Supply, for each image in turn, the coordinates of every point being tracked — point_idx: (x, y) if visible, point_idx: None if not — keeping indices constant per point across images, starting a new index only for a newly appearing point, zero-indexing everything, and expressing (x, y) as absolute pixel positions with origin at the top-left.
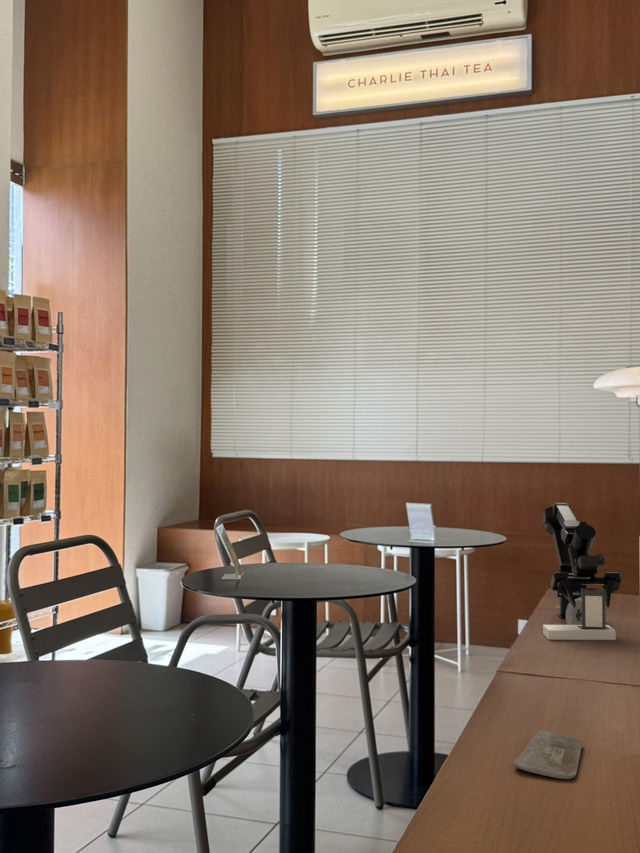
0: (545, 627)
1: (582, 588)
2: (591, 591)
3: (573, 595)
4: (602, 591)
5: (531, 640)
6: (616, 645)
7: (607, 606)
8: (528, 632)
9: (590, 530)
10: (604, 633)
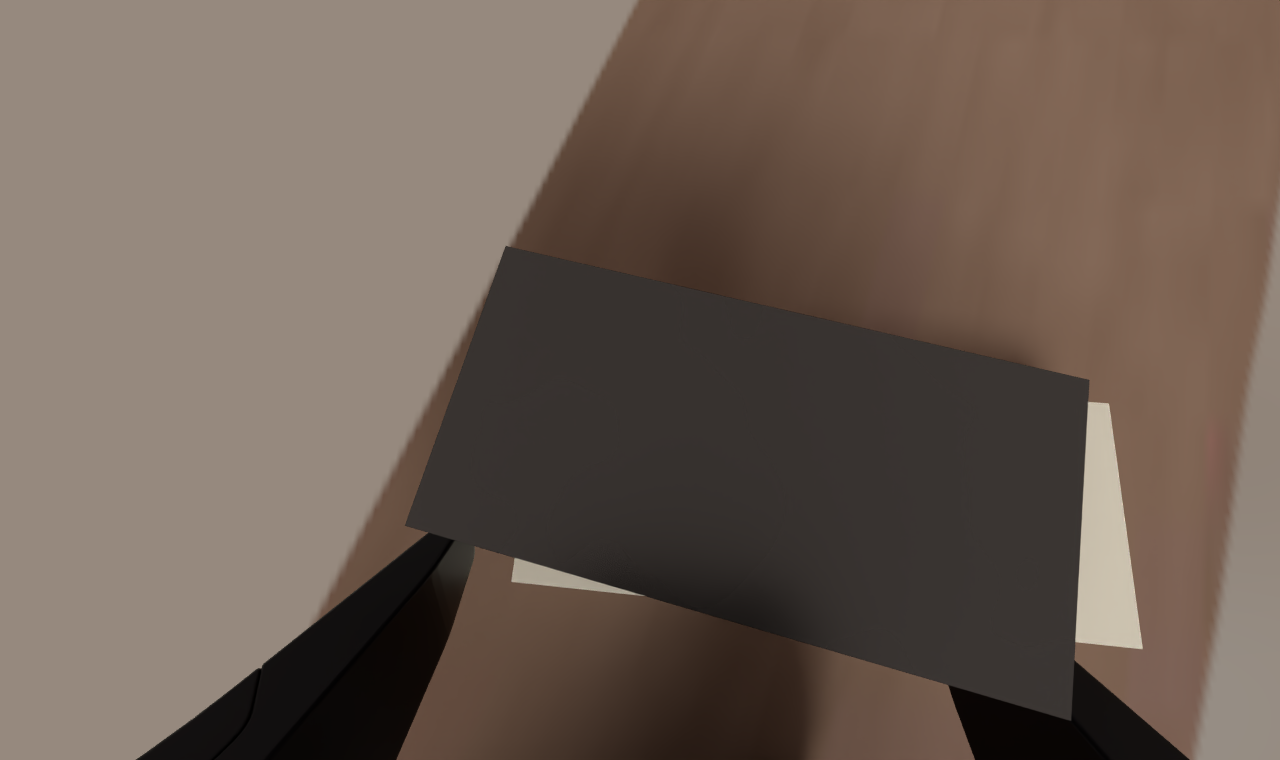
0: (1123, 527)
1: (1036, 656)
2: (824, 330)
3: (1089, 745)
4: (568, 269)
5: (1177, 398)
6: (616, 236)
7: (470, 547)
8: (1193, 691)
9: None
10: None
